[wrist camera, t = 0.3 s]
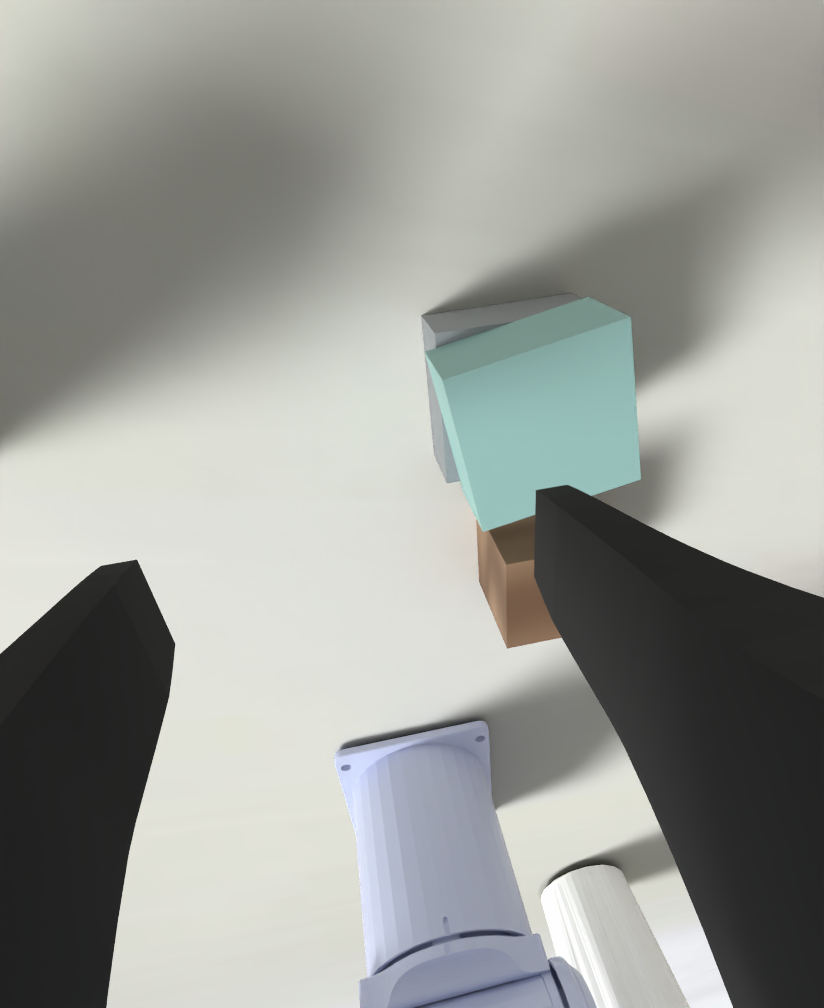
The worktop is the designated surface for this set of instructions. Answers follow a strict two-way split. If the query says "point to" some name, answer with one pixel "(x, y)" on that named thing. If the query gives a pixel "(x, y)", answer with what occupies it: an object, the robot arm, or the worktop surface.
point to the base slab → (461, 326)
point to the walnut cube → (513, 583)
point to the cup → (609, 940)
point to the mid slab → (540, 408)
